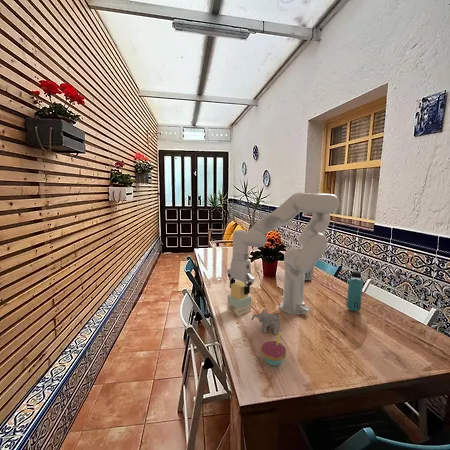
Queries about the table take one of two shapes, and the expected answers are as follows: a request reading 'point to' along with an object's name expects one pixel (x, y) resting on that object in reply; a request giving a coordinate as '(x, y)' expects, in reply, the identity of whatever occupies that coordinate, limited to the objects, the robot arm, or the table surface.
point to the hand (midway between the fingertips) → (239, 290)
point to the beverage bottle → (354, 292)
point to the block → (238, 290)
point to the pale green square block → (239, 302)
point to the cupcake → (273, 351)
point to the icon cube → (309, 275)
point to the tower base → (239, 310)
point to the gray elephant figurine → (268, 321)
